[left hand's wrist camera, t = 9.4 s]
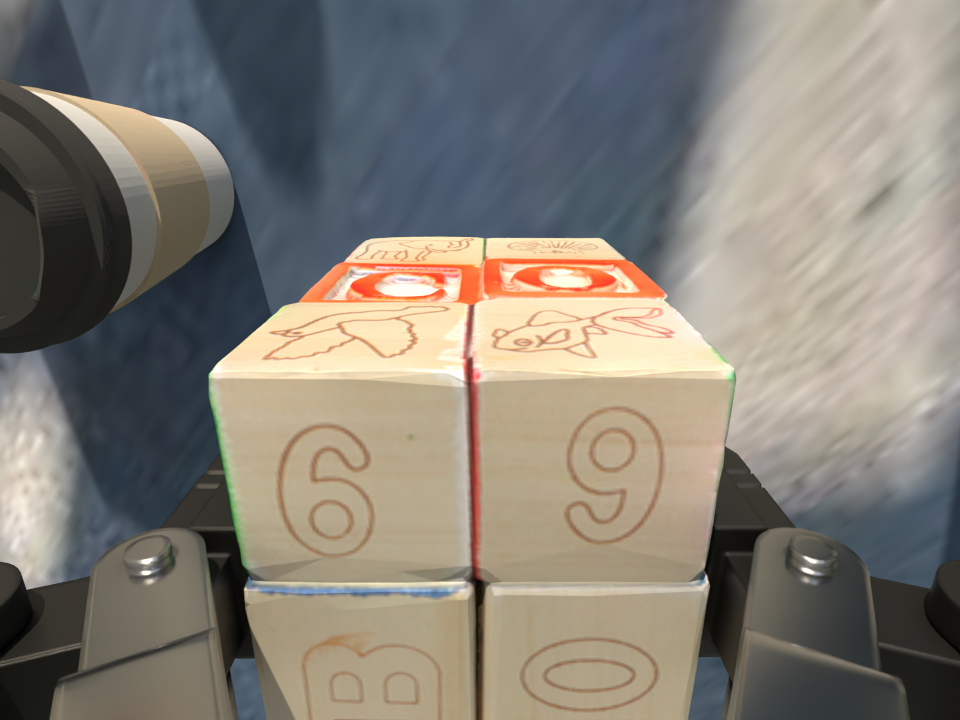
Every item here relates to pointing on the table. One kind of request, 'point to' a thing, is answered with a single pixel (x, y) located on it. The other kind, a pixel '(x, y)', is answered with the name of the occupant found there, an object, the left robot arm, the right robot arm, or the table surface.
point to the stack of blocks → (475, 485)
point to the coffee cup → (95, 210)
